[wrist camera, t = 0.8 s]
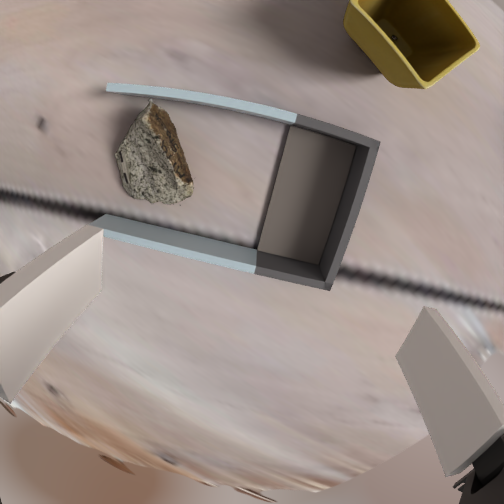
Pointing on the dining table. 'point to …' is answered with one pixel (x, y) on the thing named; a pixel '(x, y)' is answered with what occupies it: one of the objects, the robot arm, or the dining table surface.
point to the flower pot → (410, 38)
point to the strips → (179, 240)
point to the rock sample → (154, 159)
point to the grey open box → (314, 203)
